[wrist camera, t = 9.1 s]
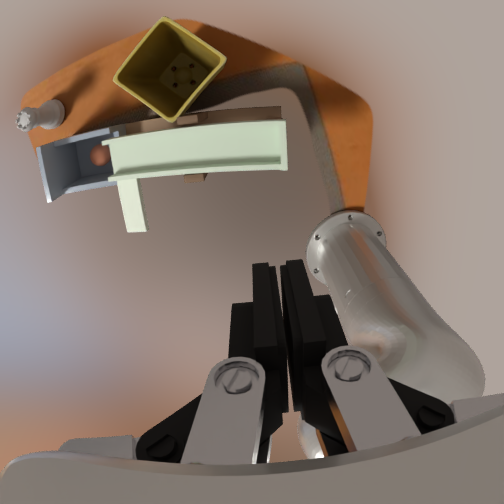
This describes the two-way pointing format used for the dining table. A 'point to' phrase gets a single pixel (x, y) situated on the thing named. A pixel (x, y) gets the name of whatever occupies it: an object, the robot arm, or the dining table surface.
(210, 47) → the flower pot
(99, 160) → the ball
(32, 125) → the rook chess piece
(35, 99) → the dining table surface
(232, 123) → the lever
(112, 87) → the dining table surface
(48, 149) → the blue-grey box
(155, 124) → the catapult base
